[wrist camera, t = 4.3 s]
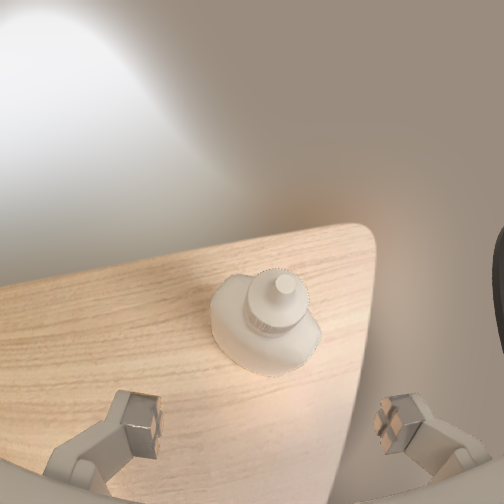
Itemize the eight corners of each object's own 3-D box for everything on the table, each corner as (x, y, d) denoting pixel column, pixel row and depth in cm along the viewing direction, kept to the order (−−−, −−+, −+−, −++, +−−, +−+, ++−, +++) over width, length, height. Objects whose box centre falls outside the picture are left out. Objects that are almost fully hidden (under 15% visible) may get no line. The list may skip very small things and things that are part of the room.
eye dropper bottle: (261, 297, 23) (297, 199, 12) (298, 365, 21) (377, 325, 10) (205, 322, 22) (192, 240, 11) (242, 394, 20) (268, 389, 9)
